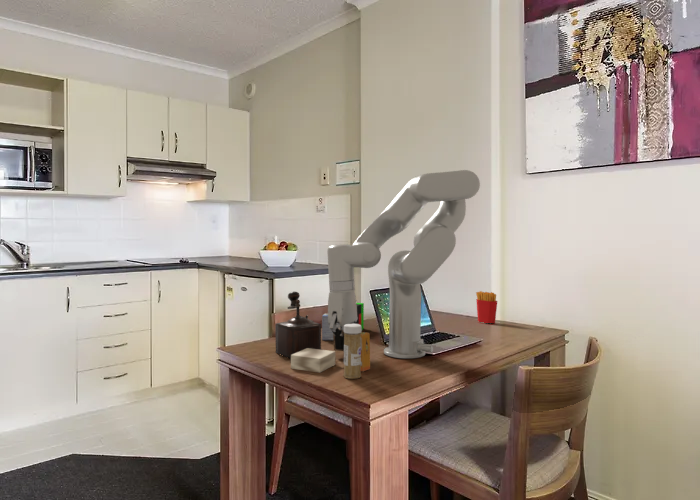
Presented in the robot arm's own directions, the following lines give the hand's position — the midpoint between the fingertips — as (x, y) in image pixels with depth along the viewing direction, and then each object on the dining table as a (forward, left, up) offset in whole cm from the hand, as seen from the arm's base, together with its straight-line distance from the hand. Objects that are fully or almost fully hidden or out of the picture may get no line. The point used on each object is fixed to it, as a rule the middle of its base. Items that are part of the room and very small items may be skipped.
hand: (345, 346), depth 146 cm
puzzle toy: (+19, -34, -3) cm, 40 cm away
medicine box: (+15, -18, -3) cm, 24 cm away
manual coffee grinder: (+16, +3, -3) cm, 17 cm away
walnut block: (0, 0, -1) cm, 1 cm away
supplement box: (-11, +10, -3) cm, 15 cm away
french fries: (-22, -78, -3) cm, 81 cm away
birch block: (+2, +14, -4) cm, 14 cm away
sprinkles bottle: (-12, +17, -3) cm, 21 cm away
